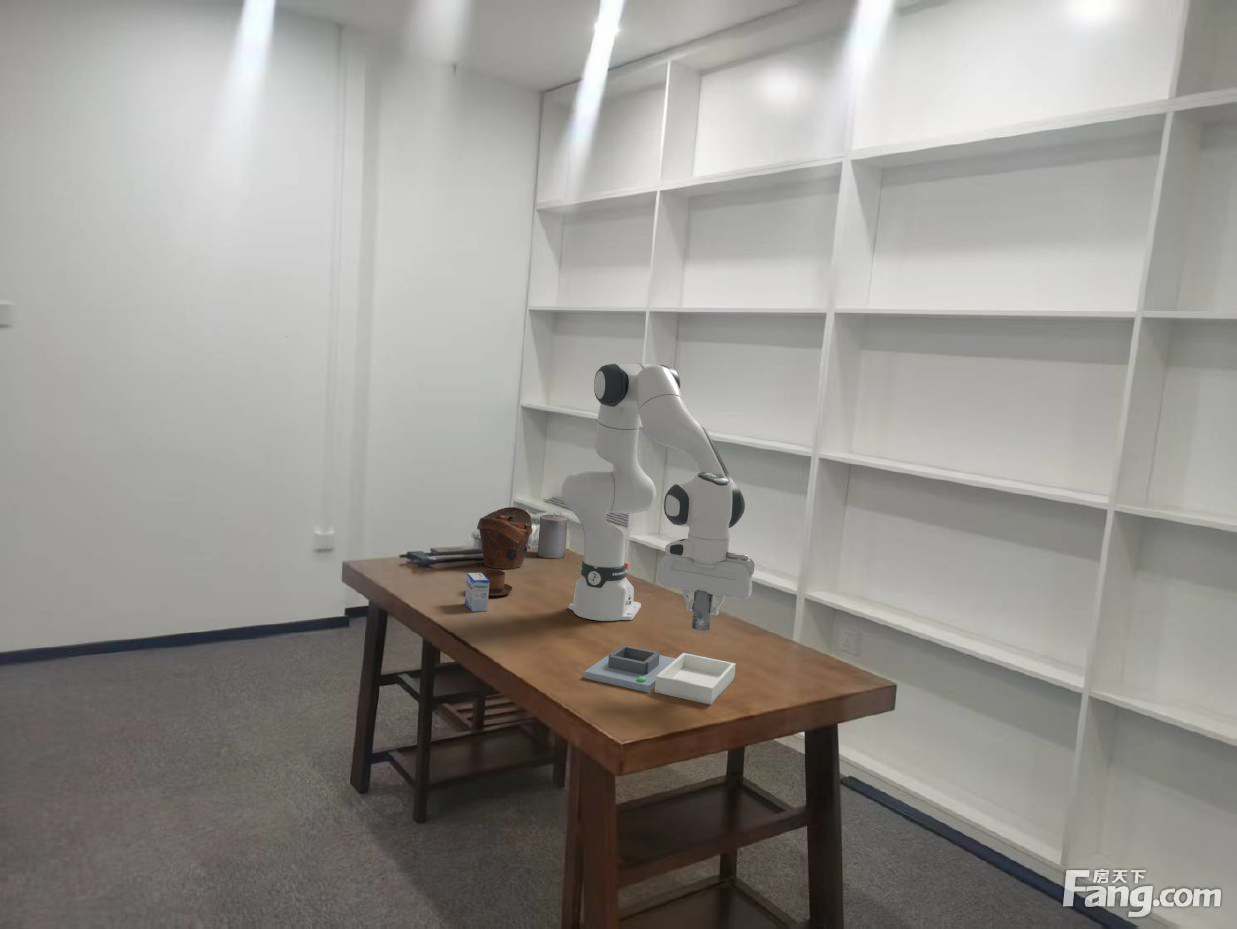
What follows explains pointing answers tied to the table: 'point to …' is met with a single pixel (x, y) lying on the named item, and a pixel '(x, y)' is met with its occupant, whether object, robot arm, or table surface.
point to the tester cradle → (629, 668)
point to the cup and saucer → (496, 582)
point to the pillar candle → (552, 536)
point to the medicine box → (477, 592)
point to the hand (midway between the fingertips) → (702, 612)
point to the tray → (695, 678)
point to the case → (505, 537)
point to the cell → (702, 610)
